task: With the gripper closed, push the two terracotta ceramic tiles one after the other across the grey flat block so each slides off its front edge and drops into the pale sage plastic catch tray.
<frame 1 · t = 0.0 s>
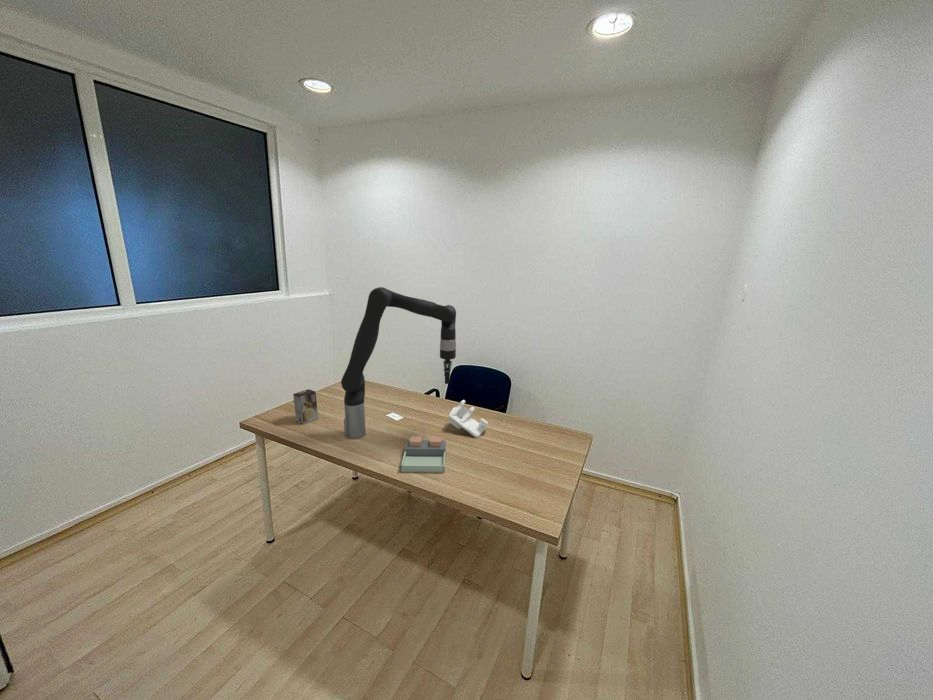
hand: (447, 380, 170), 29 cm above the table, fingers open, 8 cm apart
tile left: (416, 443, 160), point 4 cm above the table, touching grey flat block
coffee box: (307, 420, 189), on the table
tray: (423, 464, 151), on the table
tape dispenser: (467, 430, 183), on the table
grey flat block: (425, 452, 161), on the table
tile right: (435, 444, 161), point 4 cm above the table, touching grey flat block
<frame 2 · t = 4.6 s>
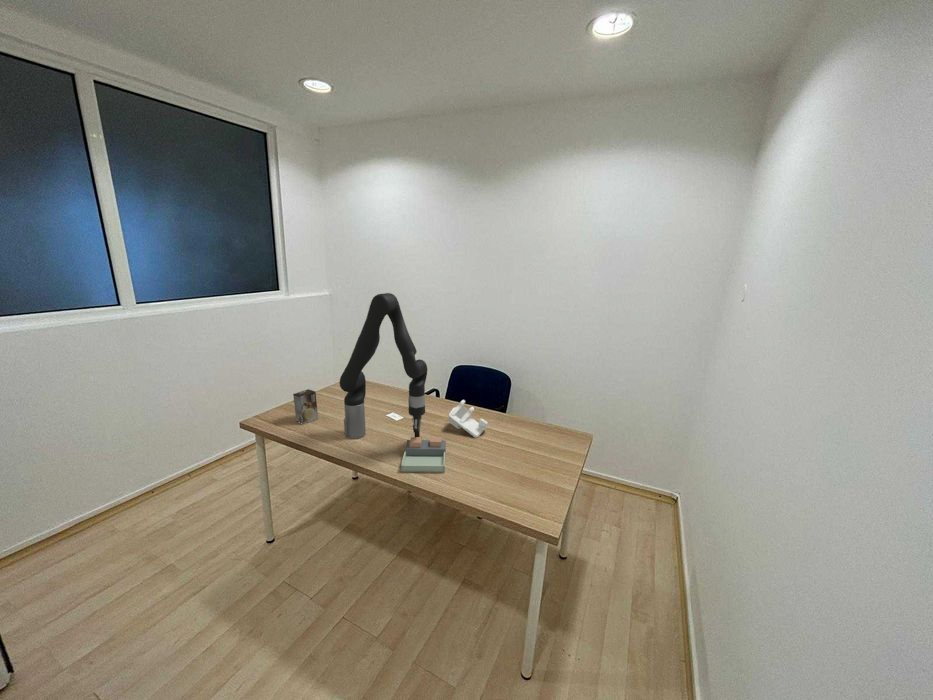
hand: (417, 438, 163), 5 cm above the table, fingers closed
tile left: (415, 444, 160), point 4 cm above the table
everything else where it was.
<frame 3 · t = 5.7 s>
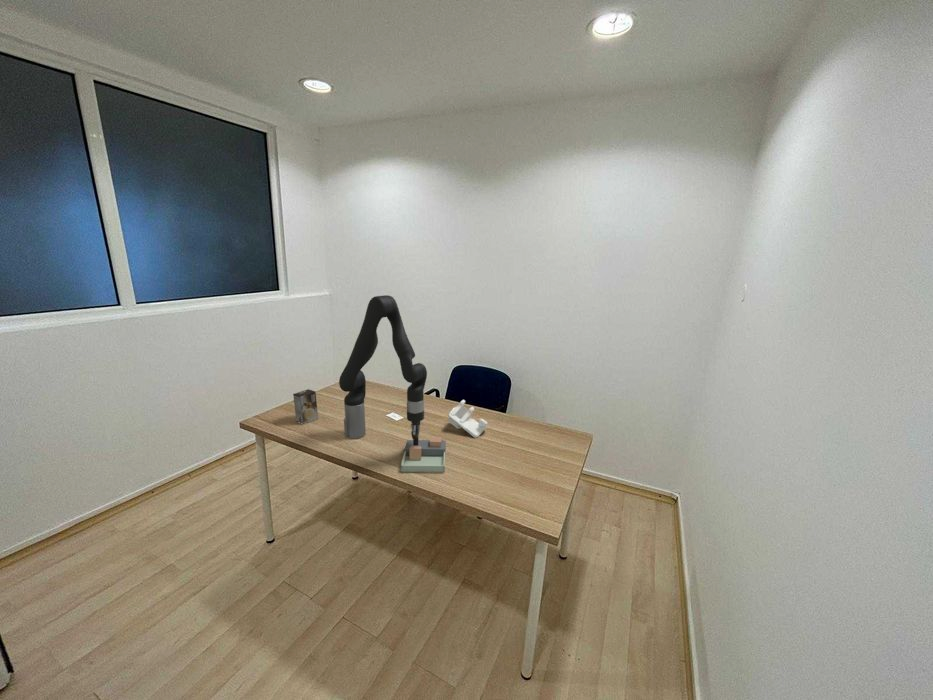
hand: (415, 444, 157), 5 cm above the table, fingers closed
tile left: (415, 451, 155), point 3 cm above the table, tilted 81°, touching tray
everything else where it was.
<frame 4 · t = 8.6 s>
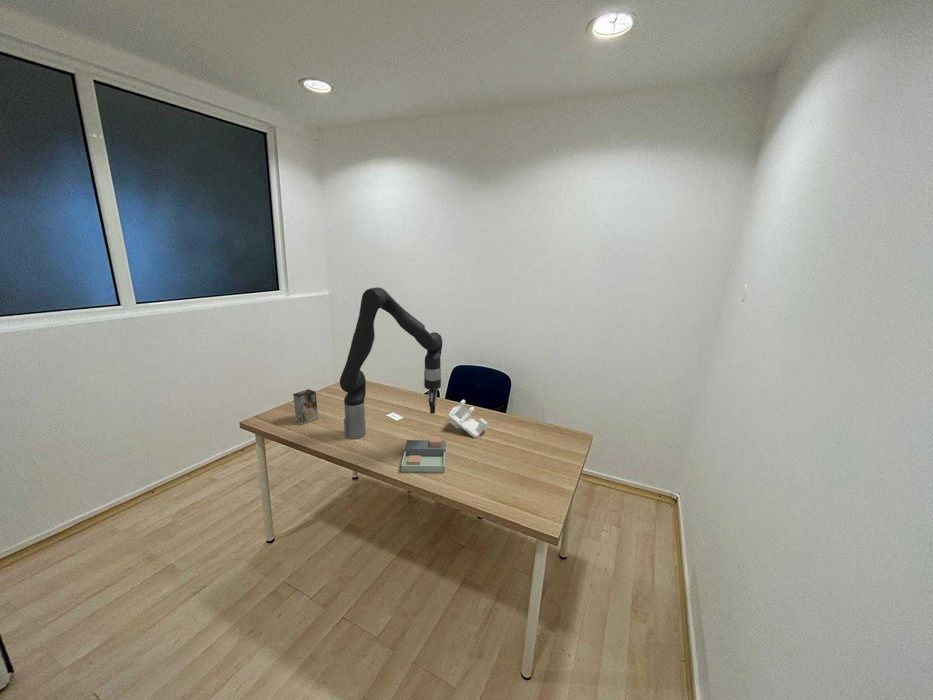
hand: (432, 412, 162), 17 cm above the table, fingers closed
tile left: (414, 458, 150), point 3 cm above the table, tilted 180°, touching tray
everything else where it was.
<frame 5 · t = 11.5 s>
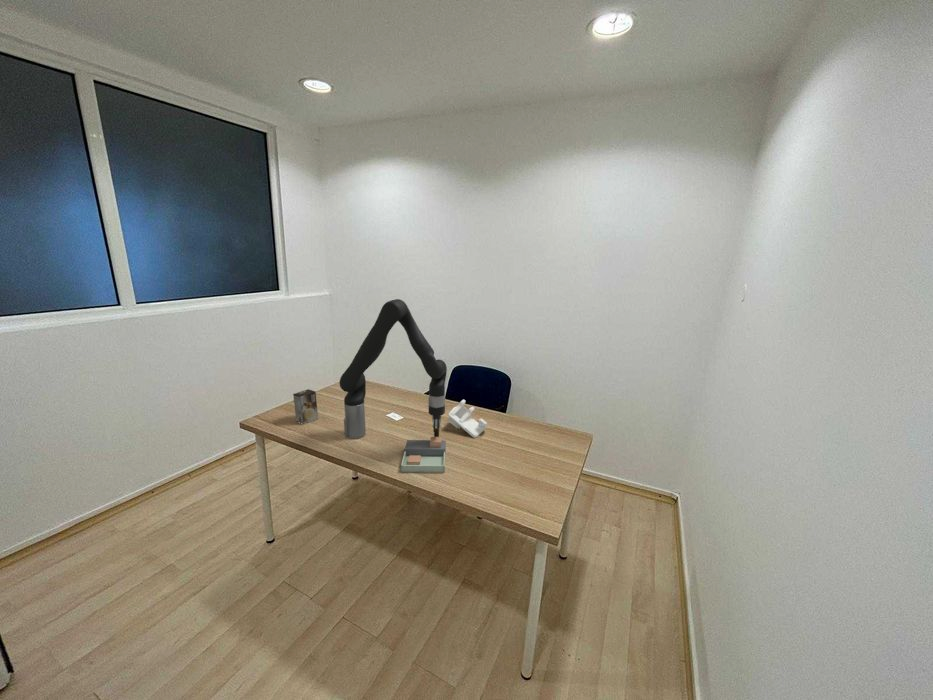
hand: (436, 437, 164), 5 cm above the table, fingers closed
tile right: (435, 444, 160), point 4 cm above the table, touching grey flat block, gripper
everything else where it was.
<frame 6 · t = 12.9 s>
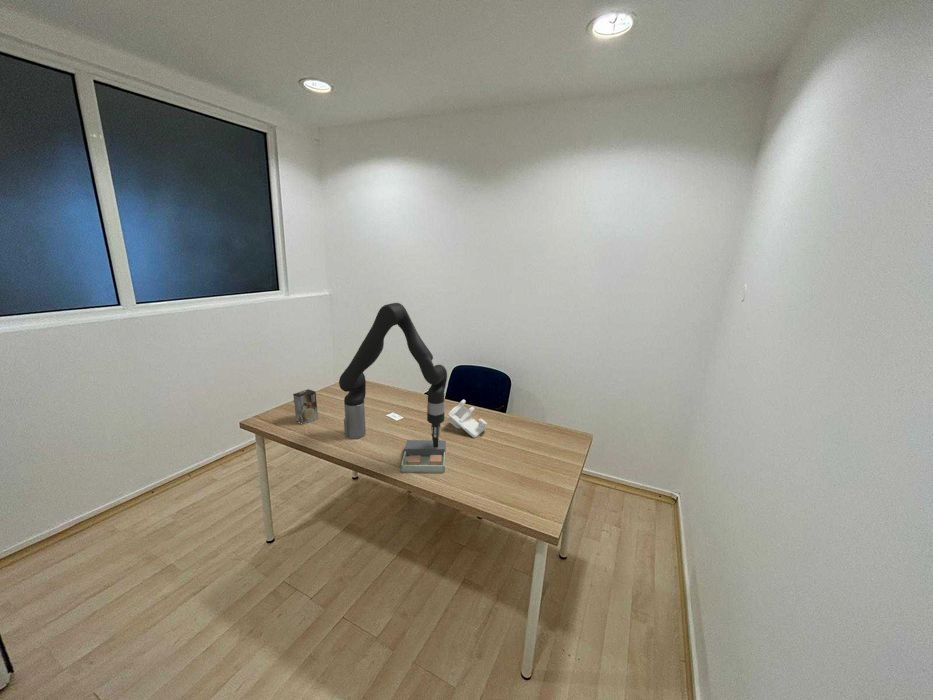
hand: (435, 446, 156), 5 cm above the table, fingers closed
tile right: (435, 458, 151), point 3 cm above the table, tilted 180°, touching tray
everything else where it was.
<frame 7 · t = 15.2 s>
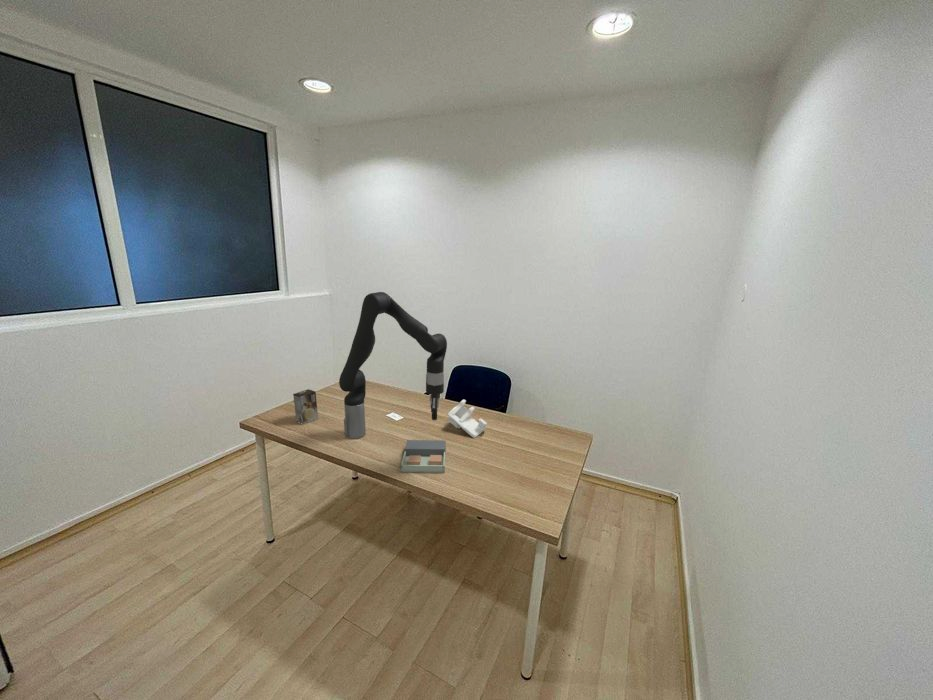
hand: (434, 419, 152), 19 cm above the table, fingers closed
nothing on the table moved.
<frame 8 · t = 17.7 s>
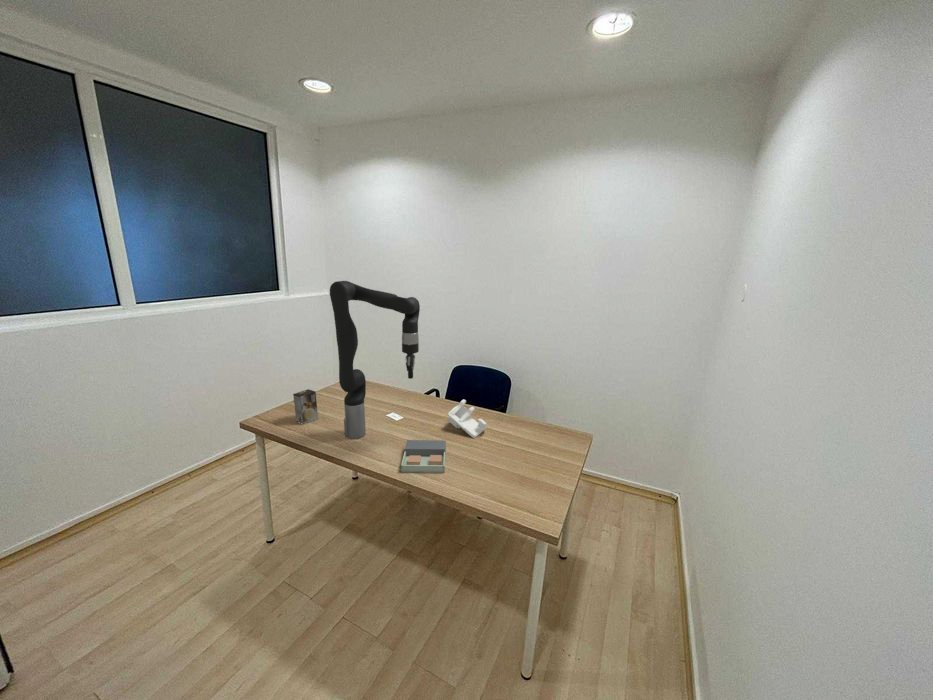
hand: (410, 378, 164), 32 cm above the table, fingers closed
nothing on the table moved.
at the end: tile left inside the target area (4.0 cm from its centre), point 3.1 cm above the table; tile right inside the target area (5.1 cm from its centre), point 3.1 cm above the table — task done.
